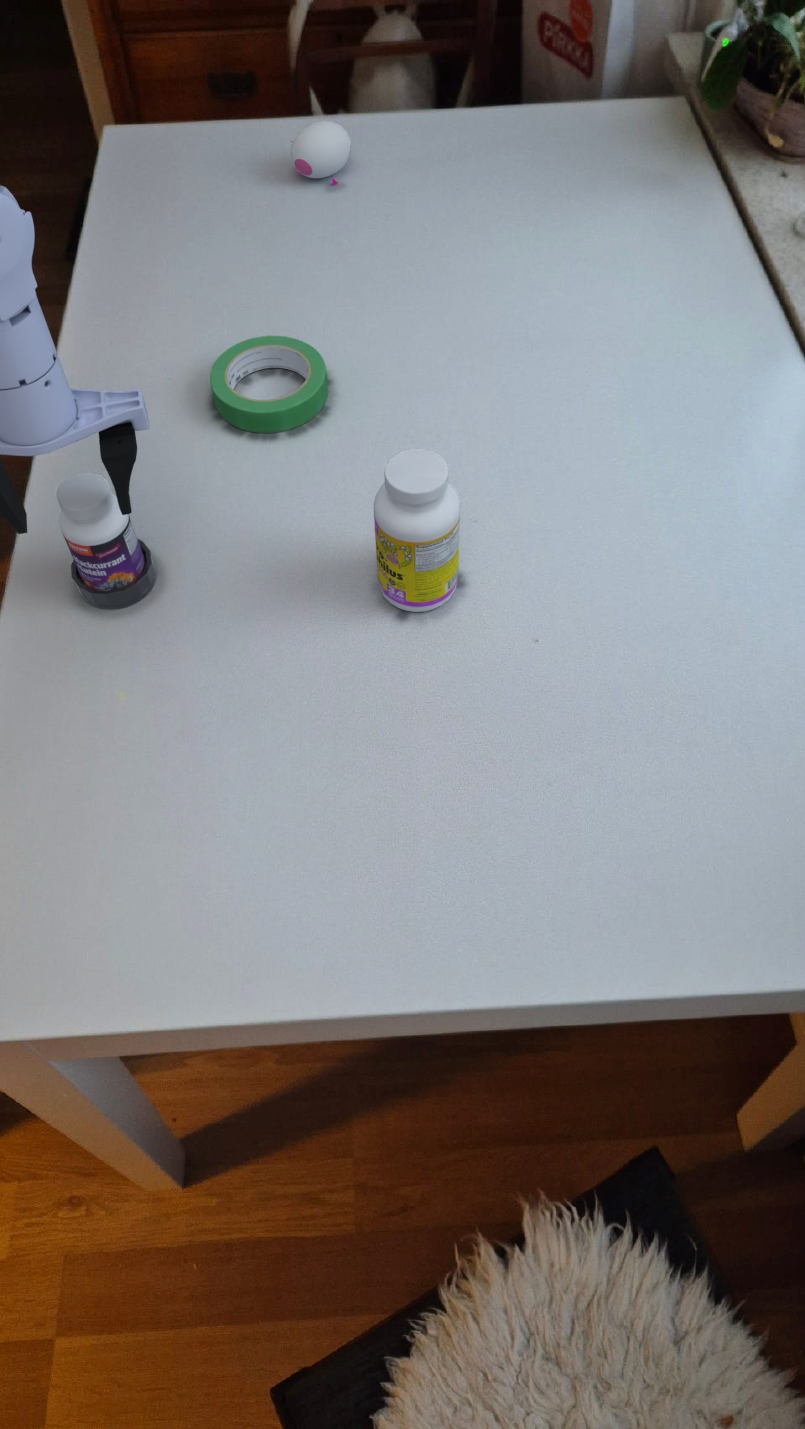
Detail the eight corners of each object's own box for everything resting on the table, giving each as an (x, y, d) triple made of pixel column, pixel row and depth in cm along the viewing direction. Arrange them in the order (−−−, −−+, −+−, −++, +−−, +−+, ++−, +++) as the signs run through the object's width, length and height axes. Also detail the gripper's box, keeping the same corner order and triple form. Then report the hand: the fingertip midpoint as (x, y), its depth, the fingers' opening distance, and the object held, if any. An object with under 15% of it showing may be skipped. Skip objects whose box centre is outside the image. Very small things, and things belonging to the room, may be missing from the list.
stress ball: (339, 184, 124) (319, 126, 121) (371, 169, 117) (350, 106, 115) (289, 204, 121) (266, 145, 119) (318, 189, 115) (295, 126, 112)
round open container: (80, 616, 83) (73, 601, 82) (76, 558, 87) (69, 542, 85) (160, 600, 84) (154, 585, 82) (152, 544, 87) (147, 527, 86)
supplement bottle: (367, 568, 85) (358, 451, 75) (440, 546, 87) (441, 428, 76) (394, 625, 82) (389, 512, 71) (470, 602, 83) (475, 487, 72)
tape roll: (302, 443, 94) (299, 421, 92) (195, 420, 96) (190, 397, 94) (344, 370, 100) (342, 347, 97) (242, 349, 102) (238, 326, 100)
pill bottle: (80, 601, 83) (42, 518, 75) (87, 553, 86) (51, 467, 78) (145, 597, 83) (114, 514, 75) (150, 549, 86) (121, 463, 78)
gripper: (120, 305, 67) (165, 461, 78) (-104, 342, 65) (-25, 495, 77) (130, 371, 63) (175, 525, 74) (-108, 412, 62) (-25, 562, 73)
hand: (74, 514), depth 75 cm, fingers open, 7 cm apart
